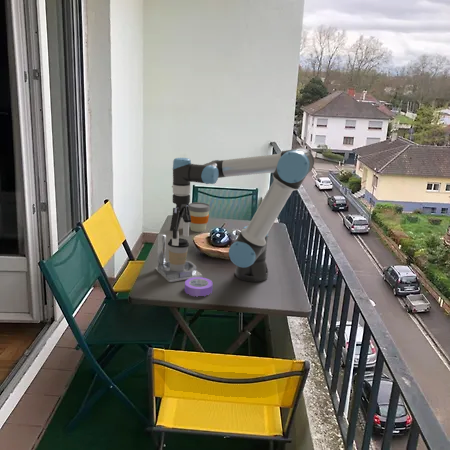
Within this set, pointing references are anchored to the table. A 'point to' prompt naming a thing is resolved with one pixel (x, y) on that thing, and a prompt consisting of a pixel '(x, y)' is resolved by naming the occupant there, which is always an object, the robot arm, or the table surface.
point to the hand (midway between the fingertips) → (180, 240)
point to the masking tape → (198, 286)
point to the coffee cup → (178, 255)
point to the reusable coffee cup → (199, 216)
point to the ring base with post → (165, 266)
